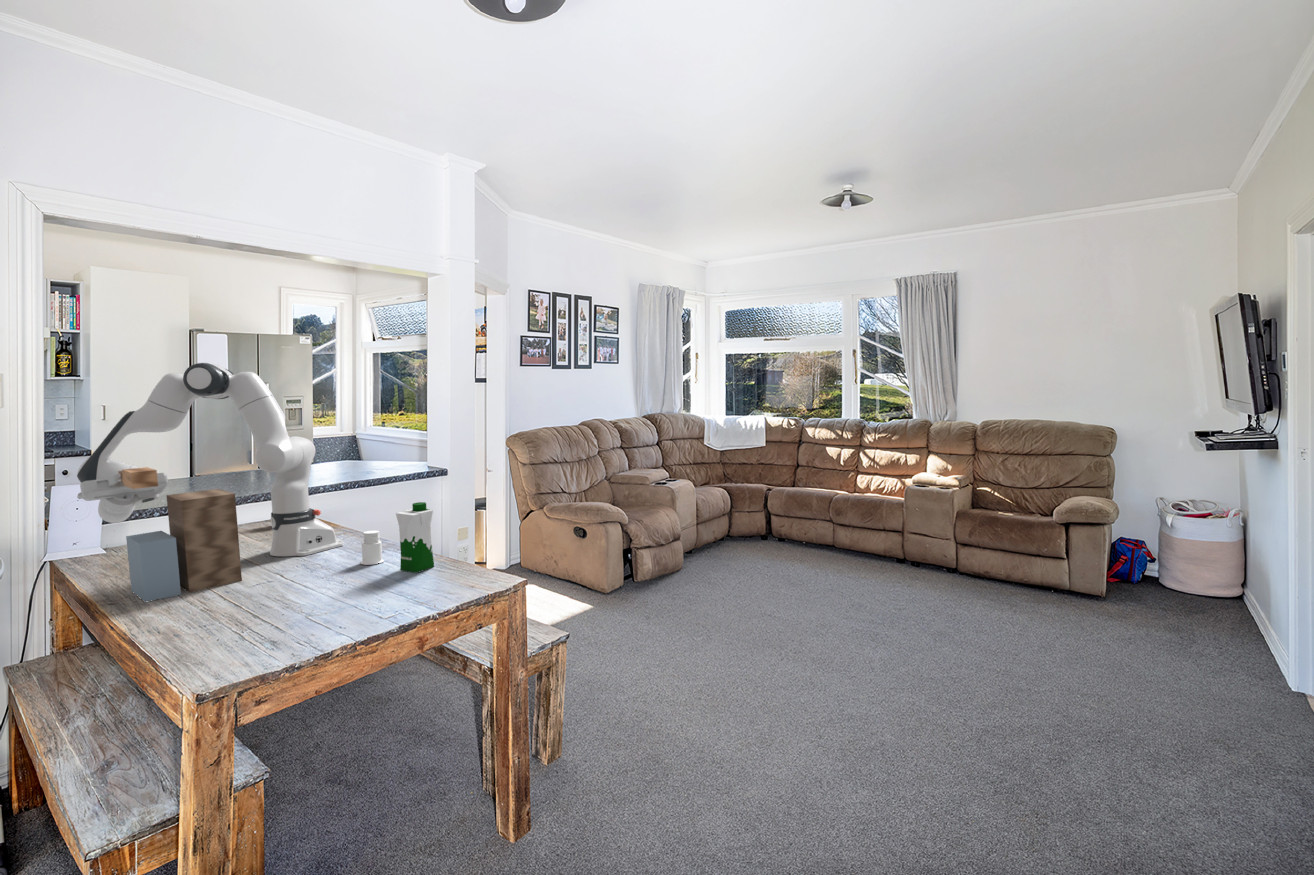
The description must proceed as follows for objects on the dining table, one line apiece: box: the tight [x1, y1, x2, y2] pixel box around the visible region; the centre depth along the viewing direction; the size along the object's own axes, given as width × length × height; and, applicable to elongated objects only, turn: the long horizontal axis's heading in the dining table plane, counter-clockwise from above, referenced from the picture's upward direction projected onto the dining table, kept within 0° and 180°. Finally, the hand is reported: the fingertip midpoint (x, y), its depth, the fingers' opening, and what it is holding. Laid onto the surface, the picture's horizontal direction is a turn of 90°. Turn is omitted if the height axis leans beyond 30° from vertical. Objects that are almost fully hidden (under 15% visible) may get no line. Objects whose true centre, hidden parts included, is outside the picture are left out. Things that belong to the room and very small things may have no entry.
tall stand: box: [166, 488, 243, 593], centre depth 190 cm, size 13×14×26 cm
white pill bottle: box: [360, 530, 385, 566], centre depth 208 cm, size 8×7×10 cm
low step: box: [125, 530, 182, 603], centre depth 181 cm, size 8×14×16 cm, turn 50°
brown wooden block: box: [118, 466, 158, 489], centre depth 185 cm, size 6×21×4 cm, turn 50°
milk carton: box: [395, 501, 435, 573], centre depth 200 cm, size 9×9×20 cm
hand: (129, 474), depth 190 cm, fingers closed on brown wooden block, 3 cm apart
